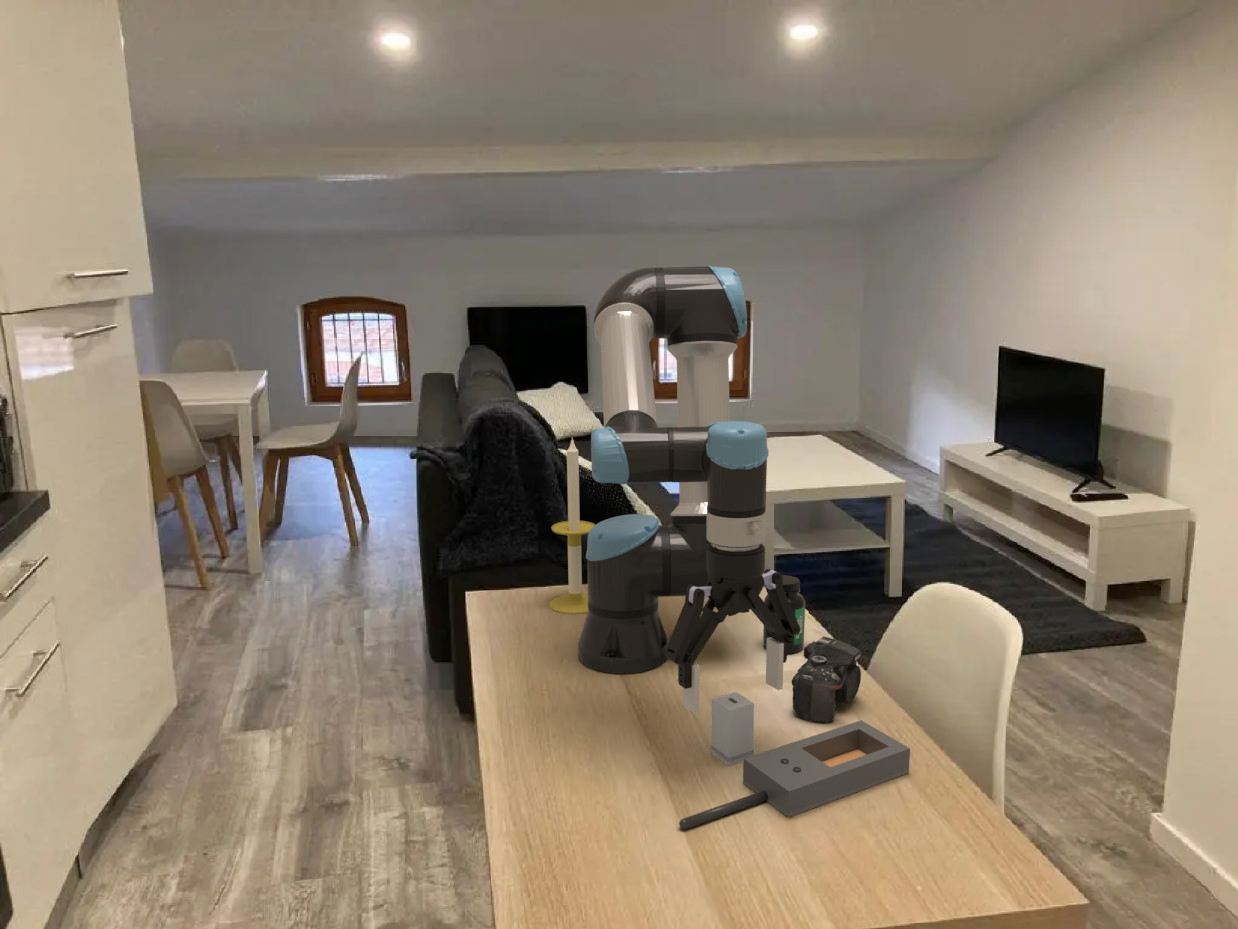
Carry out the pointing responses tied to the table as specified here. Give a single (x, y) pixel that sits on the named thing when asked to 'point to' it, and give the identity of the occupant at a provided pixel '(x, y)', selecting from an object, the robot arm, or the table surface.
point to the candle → (573, 542)
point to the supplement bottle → (798, 607)
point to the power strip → (816, 771)
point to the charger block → (732, 728)
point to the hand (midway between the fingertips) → (733, 697)
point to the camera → (826, 679)
